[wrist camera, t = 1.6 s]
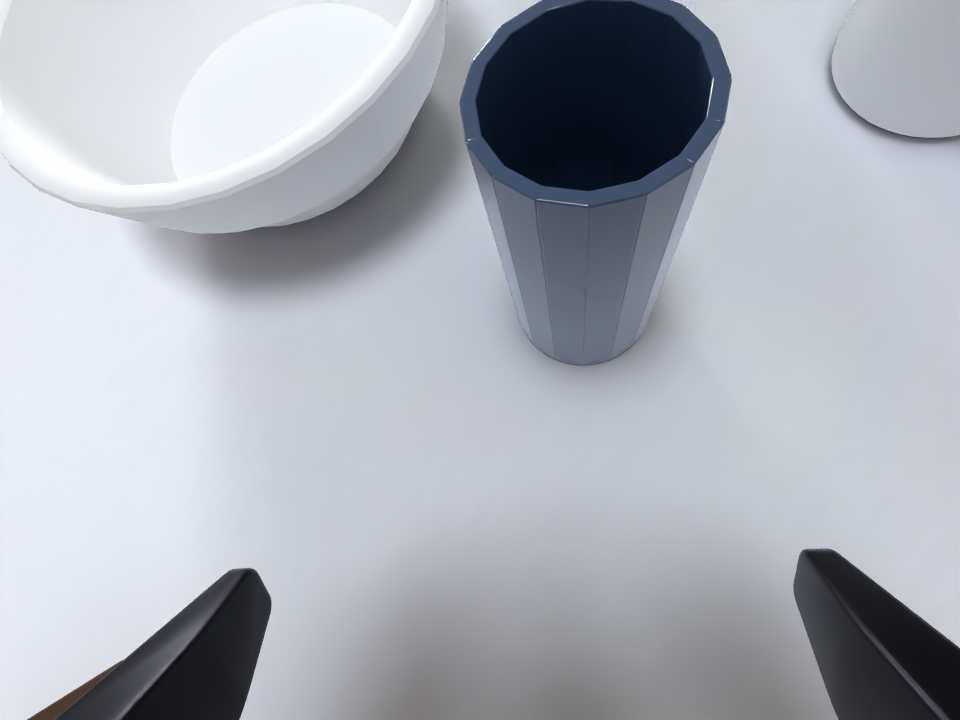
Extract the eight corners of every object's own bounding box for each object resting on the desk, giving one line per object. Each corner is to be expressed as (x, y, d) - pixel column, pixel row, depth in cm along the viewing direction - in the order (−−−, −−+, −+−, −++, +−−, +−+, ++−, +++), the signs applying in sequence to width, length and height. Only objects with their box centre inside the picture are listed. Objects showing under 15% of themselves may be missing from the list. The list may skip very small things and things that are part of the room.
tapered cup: (677, 319, 23) (792, 103, 11) (563, 390, 23) (549, 255, 11) (599, 222, 25) (623, -53, 13) (495, 288, 25) (417, 77, 13)
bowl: (310, -77, 35) (232, -250, 27) (572, 68, 28) (571, -107, 20) (63, 159, 33) (-100, 47, 25) (279, 381, 26) (149, 324, 18)
